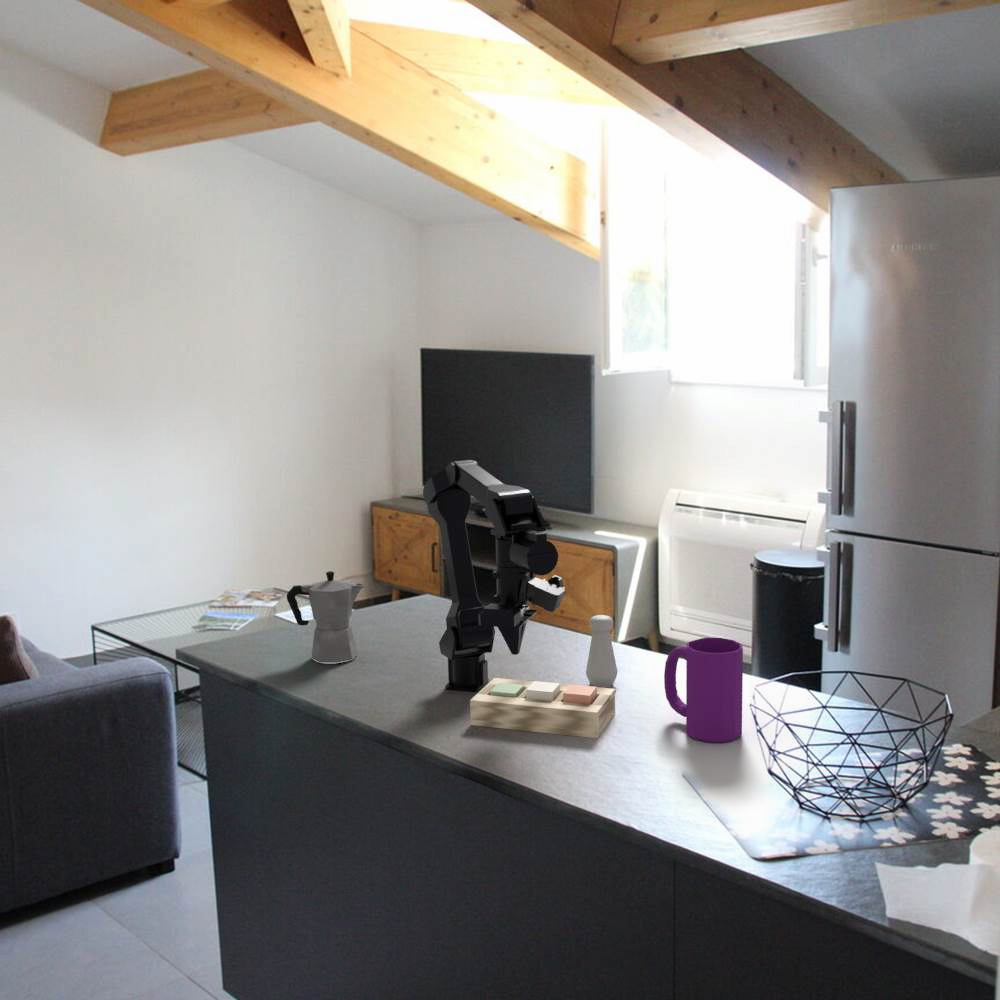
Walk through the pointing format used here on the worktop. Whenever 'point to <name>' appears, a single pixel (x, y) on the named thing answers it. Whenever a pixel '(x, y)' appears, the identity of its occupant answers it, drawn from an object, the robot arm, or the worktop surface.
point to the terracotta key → (580, 694)
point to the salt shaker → (601, 653)
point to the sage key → (507, 690)
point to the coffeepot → (329, 617)
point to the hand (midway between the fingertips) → (515, 653)
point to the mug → (708, 688)
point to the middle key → (543, 691)
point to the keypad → (542, 711)
